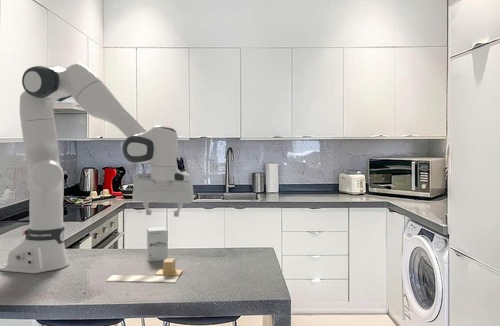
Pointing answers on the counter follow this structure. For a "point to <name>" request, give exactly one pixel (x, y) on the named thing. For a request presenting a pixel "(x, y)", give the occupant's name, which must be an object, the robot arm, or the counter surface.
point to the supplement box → (157, 243)
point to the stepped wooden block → (169, 268)
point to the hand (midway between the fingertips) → (162, 215)
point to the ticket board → (143, 278)
